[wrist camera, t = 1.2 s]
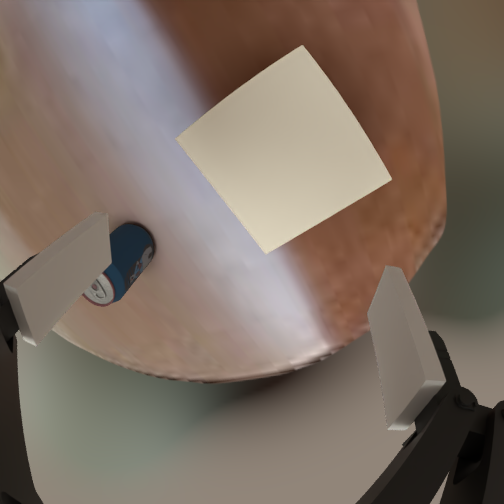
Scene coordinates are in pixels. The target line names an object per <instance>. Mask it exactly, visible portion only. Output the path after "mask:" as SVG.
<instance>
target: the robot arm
mask: <svg viewBox="0 0 504 504" xmlns="http://www.w3.org/2000/svg"><path fill="white" fill-rule="evenodd" d="M111 263H112V259H111V249H110V237H109V224H108V214H106V213H100V212H94V213H93V214H91V215H90V216H89V217H87V218H86V219H84V220H83V221H81V222H80V223H79V224H77V225H76V226H75V227H73V228H72V229H70V230H69V231H68V232H66V233H65V234H64V235H62V236H61V237H60V238H58V239H57V240H56V241H54V242H53V243H52V244H51V245H49V246H48V247H47V248H45V249H44V250H43V251H42V252H40V253H38V254H36V255H34V256H32V257H30V258H29V259H27V260H26V261H25V262H24V263H22V265H20V266H19V267H18V268H17V269H16V270H14V271H13V272H12V273H10V274H9V275H8V276H7V277H6V278H5V279H3V280H2V281H1V282H0V504H43V502H42V500H41V499H40V497H39V496H38V494H37V492H36V490H35V488H34V484H33V480H32V476H31V472H30V467H29V462H28V457H27V451H26V446H25V440H24V433H23V426H22V418H21V409H20V399H19V386H18V368H17V367H18V366H17V339H16V336H15V333H16V332H17V331H18V330H20V332H21V334H22V337H23V339H24V340H25V341H27V342H29V343H31V344H33V345H35V346H37V345H38V344H39V343H40V342H41V341H42V339H43V338H44V337H45V336H46V335H47V333H48V332H49V331H50V330H51V329H52V328H53V326H54V325H55V324H56V323H57V322H58V321H59V320H60V318H61V317H62V316H63V315H64V314H65V313H66V312H67V310H68V309H69V308H70V307H71V306H72V305H73V304H74V303H75V301H76V300H77V299H78V298H79V297H80V296H81V295H82V294H83V293H84V292H85V291H86V289H87V288H88V287H89V286H90V285H91V284H92V283H93V282H94V281H95V280H96V279H97V278H98V277H99V276H100V275H101V273H102V272H103V271H104V270H105V269H106V268H107V267H108V266H109V265H110V264H111ZM367 315H368V320H369V324H370V329H371V334H372V338H373V344H374V348H375V354H376V359H377V365H378V371H379V376H380V382H381V388H382V395H383V401H384V408H385V415H386V422H387V429H388V430H406V429H407V428H408V427H409V426H410V425H411V424H412V423H413V422H414V421H415V426H416V430H415V431H414V433H413V434H412V435H411V436H410V437H409V438H408V439H407V440H406V441H405V442H404V443H403V444H402V445H403V448H402V449H401V450H400V451H399V453H398V454H397V456H396V457H395V458H394V459H393V461H392V462H391V463H390V464H389V466H388V467H387V468H386V470H385V471H384V472H383V473H382V474H381V476H380V477H379V478H378V479H377V480H376V481H375V483H374V484H373V485H372V486H371V487H370V488H369V490H368V491H367V492H366V493H365V494H364V495H363V496H362V497H361V498H360V500H359V501H358V502H357V503H356V504H430V502H431V501H432V499H433V498H434V496H435V495H436V493H437V491H438V489H439V488H440V486H441V485H442V483H443V481H444V479H445V477H446V476H447V474H448V472H449V474H448V478H447V481H446V485H445V488H444V491H443V494H442V498H441V501H440V504H504V401H500V402H499V403H498V404H497V405H496V406H495V407H494V408H493V409H492V408H488V407H485V406H482V405H479V404H478V402H477V399H476V397H475V396H474V394H473V393H472V392H471V391H469V390H468V389H466V388H464V387H461V386H460V383H459V380H458V377H457V374H456V372H455V369H454V366H453V364H452V361H451V360H450V356H449V353H448V352H447V349H446V346H445V343H444V341H443V340H442V338H441V337H440V336H439V335H438V334H437V333H436V332H435V331H428V329H427V327H426V324H425V322H424V320H423V317H422V315H421V313H420V310H419V308H418V306H417V303H416V301H415V298H414V296H413V294H412V291H411V289H410V287H409V285H408V282H407V280H406V278H405V276H404V274H403V271H402V269H401V268H398V267H393V266H388V265H386V267H385V269H384V272H383V275H382V277H381V280H380V283H379V285H378V288H377V290H376V293H375V295H374V298H373V300H372V303H371V305H370V308H369V310H368V313H367Z"/></svg>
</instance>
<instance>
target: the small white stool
mask: <svg viewBox="0 0 504 504" xmlns="http://www.w3.org/2000/svg"><path fill="white" fill-rule="evenodd" d="M175 140H176V141H177V142H178V143H179V145H180V146H181V147H182V148H183V150H184V151H185V152H186V153H187V155H188V156H189V157H190V159H191V160H192V161H193V162H194V164H195V165H196V166H197V167H198V169H199V170H200V171H201V172H202V174H203V175H204V176H205V177H206V179H207V180H208V181H209V183H210V184H211V185H212V186H213V188H214V189H215V190H216V191H217V193H218V194H219V195H220V197H221V198H222V199H223V200H224V202H225V203H226V204H227V205H228V207H229V208H230V209H231V211H232V212H233V213H234V214H235V216H236V217H237V218H238V219H239V221H240V222H241V223H242V225H243V226H244V227H245V228H246V230H247V231H248V232H249V233H250V235H251V236H252V237H253V239H254V240H255V241H256V242H257V244H258V245H259V246H260V248H261V249H262V250H263V251H264V253H265V254H267V253H269V252H271V251H272V250H274V249H276V248H278V247H279V246H281V245H283V244H284V243H286V242H288V241H290V240H291V239H293V238H295V237H296V236H298V235H300V234H301V233H303V232H305V231H307V230H308V229H310V228H312V227H313V226H315V225H317V224H318V223H320V222H322V221H323V220H325V219H327V218H329V217H330V216H332V215H334V214H335V213H337V212H339V211H340V210H342V209H344V208H345V207H347V206H349V205H350V204H352V203H354V202H356V201H357V200H359V199H361V198H362V197H364V196H366V195H367V194H369V193H371V192H372V191H374V190H376V189H377V188H379V187H381V186H382V185H384V184H386V183H387V182H389V181H391V180H392V178H391V176H390V175H389V173H388V171H387V169H386V167H385V166H384V164H383V162H382V160H381V159H380V157H379V155H378V153H377V152H376V150H375V148H374V147H373V145H372V143H371V142H370V140H369V139H368V137H367V135H366V134H365V132H364V130H363V129H362V127H361V126H360V124H359V123H358V121H357V119H356V118H355V116H354V115H353V113H352V112H351V110H350V109H349V107H348V106H347V104H346V103H345V101H344V100H343V98H342V97H341V96H340V94H339V93H338V91H337V90H336V88H335V87H334V86H333V84H332V83H331V81H330V80H329V79H328V77H327V76H326V75H325V73H324V72H323V71H322V69H321V68H320V67H319V65H318V64H317V63H316V61H315V60H314V59H313V57H312V56H311V55H310V54H309V52H308V51H307V50H306V49H305V47H304V46H303V45H301V46H300V47H298V48H297V49H295V50H293V51H292V52H290V53H289V54H287V55H286V56H284V57H283V58H281V59H279V60H278V61H276V62H275V63H273V64H272V65H270V66H269V67H268V68H266V69H265V70H263V71H262V72H260V73H259V74H257V75H256V76H255V77H253V78H252V79H250V80H249V81H248V82H246V83H245V84H243V85H242V86H241V87H239V88H238V89H237V90H235V91H234V92H233V93H231V94H230V95H229V96H227V97H226V98H225V99H223V100H222V101H221V102H219V103H218V104H217V105H216V106H214V107H213V108H212V109H210V110H209V111H208V112H207V113H205V114H204V115H203V116H202V117H200V118H199V119H198V120H197V121H196V122H194V123H193V124H192V125H191V126H189V127H188V128H187V129H186V130H185V131H184V132H182V133H181V134H180V135H179V136H178V137H176V138H175Z"/></svg>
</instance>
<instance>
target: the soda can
mask: <svg viewBox="0 0 504 504" xmlns="http://www.w3.org/2000/svg"><path fill="white" fill-rule="evenodd" d="M109 237H110V249H111V259H112V263H111V264H110V265H109V266H108V267H107V268H106V269H105V270H104V271H103V272H102V273H101V275H100V276H99V277H98V278H97V279H96V280H95V281H94V282H93V283H92V284H91V285H90V286H89V287H88V288H87V289H86V291H85V292H84V293H83V294H82V295H83V296H84V298H85V299H87V300H88V301H89V302H91V303H92V304H94V305H97V306H101V307H104V306H108V305H110V304H111V303H113V302H116V301H119V300H120V299H121V298H122V297H123V296H124V294H125V293H126V292H127V290H128V289H129V288H130V287H131V285H132V284H133V283H134V282H135V280H136V279H137V278H138V277H139V275H140V274H141V273H142V272H143V270H144V269H145V268H146V267H147V265H148V264H149V263H150V262H151V260H152V258H153V253H154V248H153V243H152V239H151V237H150V235H149V234H148V233H147V232H146V231H145V230H144V229H143V228H141V227H139V226H136V225H131V224H125V225H121V226H119V227H118V228H117V229H115V230H114V231H113V232H112V233H111V234H110V235H109Z"/></svg>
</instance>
